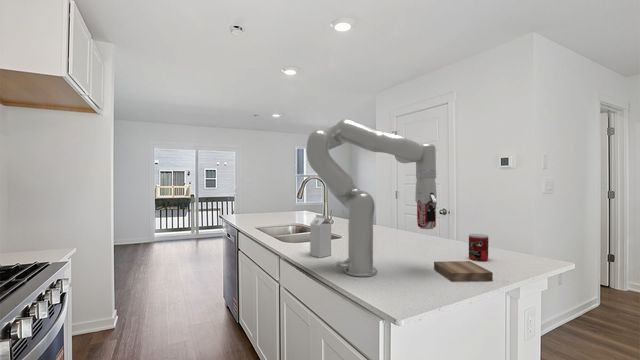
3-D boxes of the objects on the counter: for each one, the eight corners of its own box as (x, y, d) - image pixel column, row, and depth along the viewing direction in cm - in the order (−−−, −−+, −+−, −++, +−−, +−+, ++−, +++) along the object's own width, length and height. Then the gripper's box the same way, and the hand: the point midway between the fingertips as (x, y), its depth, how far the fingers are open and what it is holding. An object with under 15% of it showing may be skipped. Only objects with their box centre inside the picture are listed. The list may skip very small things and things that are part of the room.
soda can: (437, 229, 119) (437, 198, 119) (418, 229, 120) (418, 198, 120) (434, 226, 126) (433, 197, 126) (416, 226, 127) (415, 197, 127)
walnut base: (452, 281, 110) (452, 273, 110) (433, 268, 125) (434, 261, 125) (492, 280, 111) (492, 272, 111) (469, 268, 126) (469, 261, 126)
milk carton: (321, 252, 151) (321, 214, 151) (331, 255, 146) (331, 215, 145) (310, 255, 146) (310, 215, 146) (319, 258, 141) (319, 216, 141)
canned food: (464, 257, 143) (465, 234, 143) (478, 256, 145) (478, 233, 145) (477, 262, 135) (478, 237, 135) (492, 260, 138) (492, 236, 138)
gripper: (408, 175, 131) (409, 217, 132) (425, 175, 114) (426, 223, 114) (425, 175, 132) (426, 217, 132) (445, 175, 115) (446, 223, 115)
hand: (426, 219), depth 123 cm, fingers closed on soda can, 7 cm apart
